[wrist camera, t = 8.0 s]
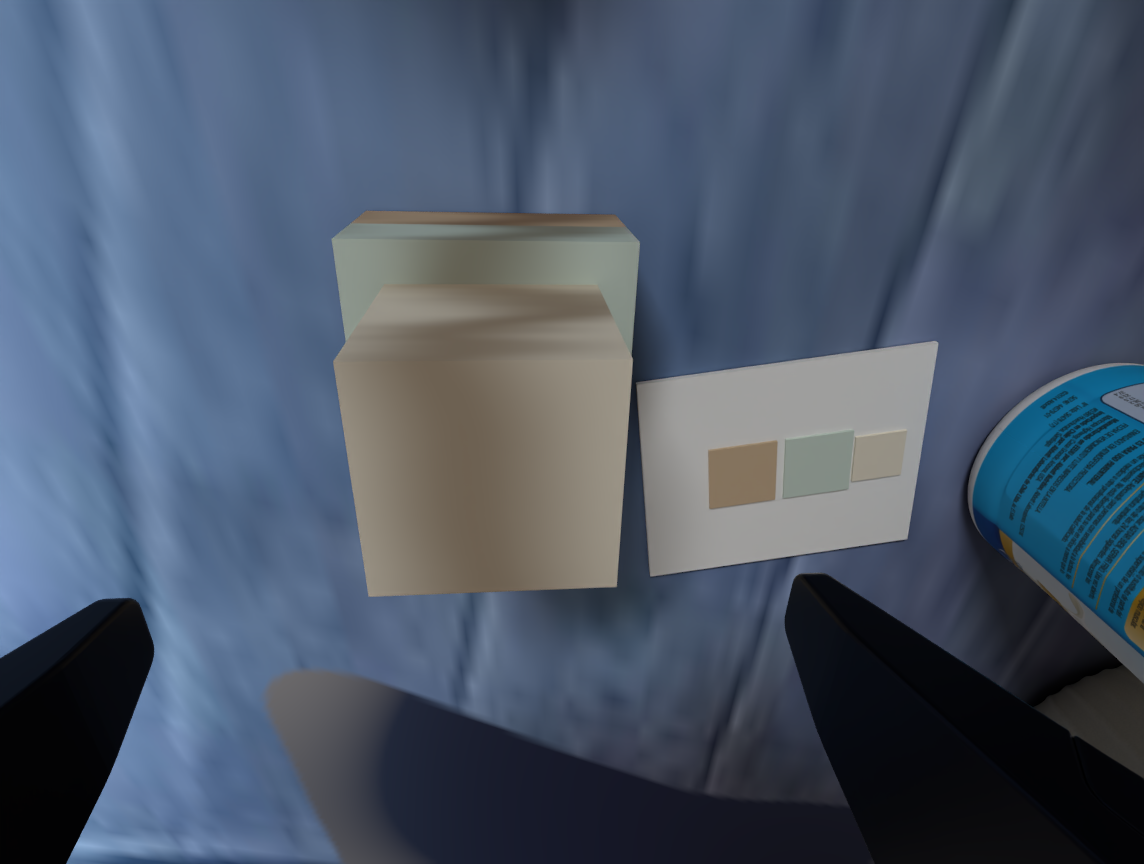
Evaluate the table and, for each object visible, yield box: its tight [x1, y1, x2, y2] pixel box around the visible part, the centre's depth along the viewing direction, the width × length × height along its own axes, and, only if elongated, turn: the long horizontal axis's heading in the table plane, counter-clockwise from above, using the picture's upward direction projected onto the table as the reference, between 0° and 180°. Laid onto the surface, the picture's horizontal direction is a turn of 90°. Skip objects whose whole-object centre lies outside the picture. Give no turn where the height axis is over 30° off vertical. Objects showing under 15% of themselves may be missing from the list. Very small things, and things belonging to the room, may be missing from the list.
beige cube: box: [333, 284, 633, 597], centre depth 14 cm, size 5×5×5 cm
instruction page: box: [636, 341, 938, 577], centre depth 23 cm, size 10×8×1 cm
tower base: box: [332, 211, 640, 356], centre depth 18 cm, size 7×7×4 cm
